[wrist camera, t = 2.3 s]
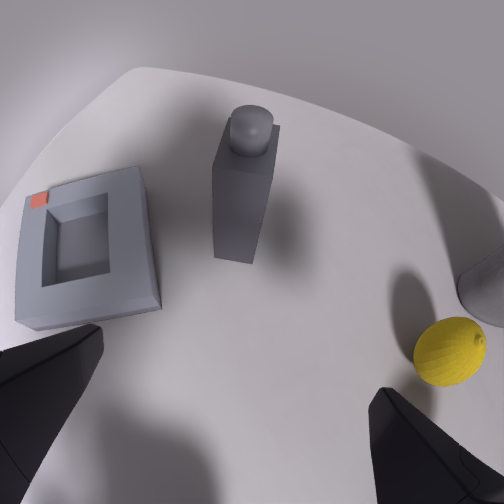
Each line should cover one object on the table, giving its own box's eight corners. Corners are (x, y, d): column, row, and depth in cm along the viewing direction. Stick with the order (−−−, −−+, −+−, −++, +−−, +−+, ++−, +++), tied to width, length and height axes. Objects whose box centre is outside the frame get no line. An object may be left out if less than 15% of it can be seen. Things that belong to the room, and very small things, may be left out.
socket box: (161, 309, 22) (151, 293, 19) (36, 331, 20) (12, 319, 17) (146, 189, 27) (138, 162, 24) (40, 216, 25) (24, 194, 21)
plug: (252, 264, 25) (279, 149, 13) (214, 257, 25) (212, 138, 13) (259, 220, 27) (285, 100, 15) (224, 214, 27) (230, 91, 15)
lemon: (397, 329, 24) (455, 300, 16) (442, 332, 24) (500, 307, 17) (394, 390, 21) (457, 382, 14) (441, 388, 21) (503, 377, 14)
